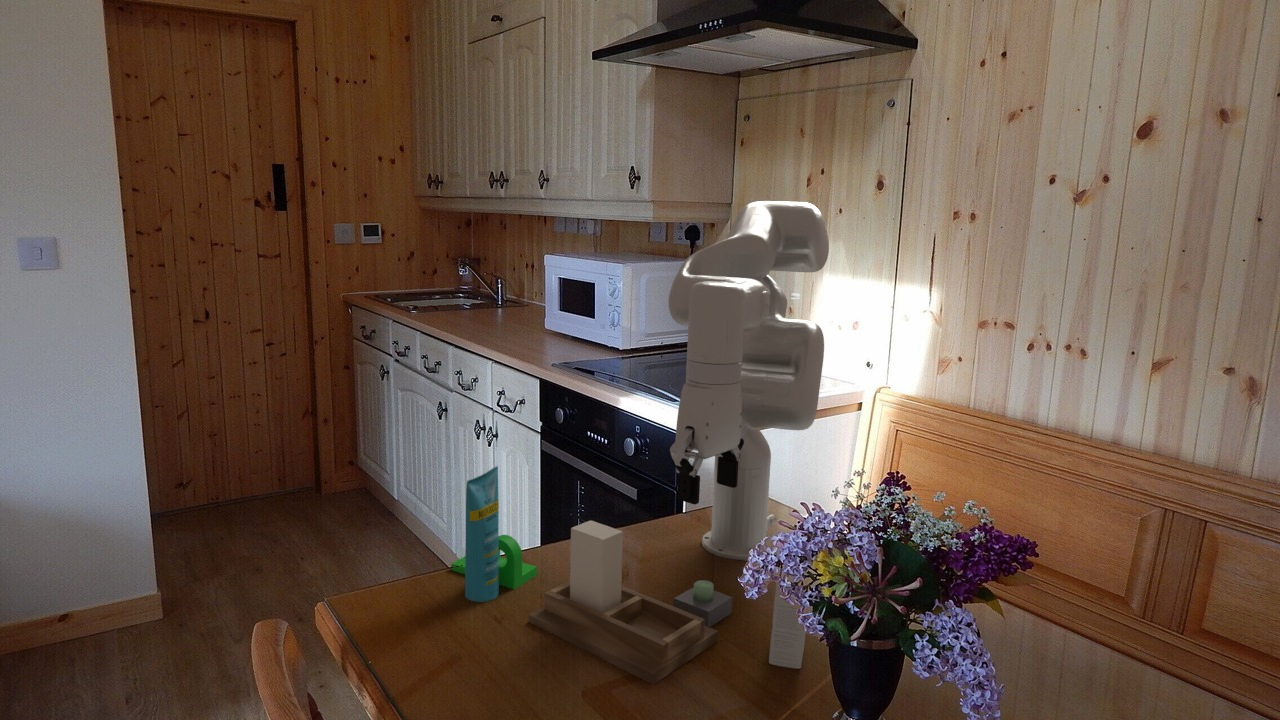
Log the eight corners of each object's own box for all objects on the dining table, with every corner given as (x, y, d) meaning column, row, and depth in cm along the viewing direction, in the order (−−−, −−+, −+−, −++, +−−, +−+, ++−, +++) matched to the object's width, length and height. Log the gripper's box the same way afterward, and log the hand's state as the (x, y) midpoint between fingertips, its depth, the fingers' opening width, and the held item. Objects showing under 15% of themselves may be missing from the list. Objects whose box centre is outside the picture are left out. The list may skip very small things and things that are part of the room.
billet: (589, 599, 119) (590, 520, 117) (620, 612, 116) (622, 531, 114) (569, 608, 116) (571, 528, 114) (601, 623, 113) (603, 539, 110)
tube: (484, 611, 118) (483, 482, 115) (454, 605, 119) (453, 477, 116) (508, 589, 125) (509, 467, 122) (480, 584, 126) (479, 463, 123)
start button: (700, 591, 121) (701, 578, 120) (716, 597, 119) (717, 584, 119) (689, 597, 119) (690, 584, 118) (705, 604, 117) (706, 590, 116)
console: (697, 600, 123) (698, 584, 123) (731, 613, 120) (732, 597, 119) (673, 614, 119) (673, 598, 118) (707, 628, 115) (708, 611, 115)
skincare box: (772, 642, 112) (777, 558, 110) (806, 647, 111) (812, 562, 109) (767, 666, 106) (773, 577, 104) (803, 671, 105) (809, 582, 103)
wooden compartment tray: (596, 591, 125) (597, 566, 125) (717, 641, 112) (718, 613, 111) (528, 624, 115) (528, 597, 114) (653, 684, 101) (654, 654, 100)
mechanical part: (537, 578, 129) (537, 530, 128) (514, 593, 124) (514, 543, 123) (475, 562, 135) (475, 515, 133) (451, 575, 130) (450, 527, 128)
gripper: (725, 361, 122) (720, 473, 125) (652, 377, 109) (648, 502, 112) (770, 368, 117) (763, 485, 120) (699, 386, 104) (693, 516, 107)
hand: (708, 493), depth 116 cm, fingers open, 9 cm apart
